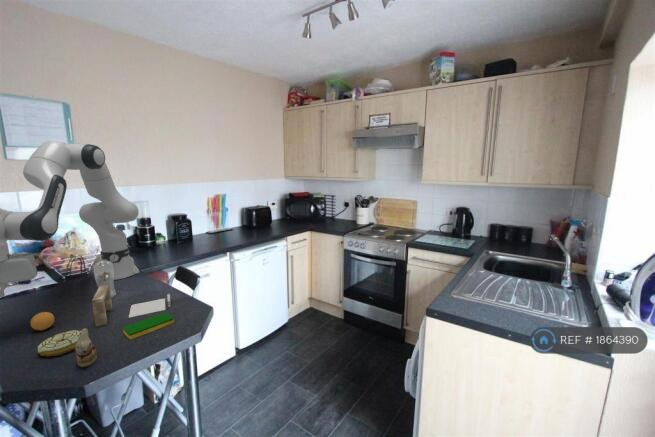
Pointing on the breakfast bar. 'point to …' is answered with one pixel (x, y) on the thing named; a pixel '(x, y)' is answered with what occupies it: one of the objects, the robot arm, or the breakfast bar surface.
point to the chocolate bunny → (85, 350)
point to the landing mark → (147, 307)
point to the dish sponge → (148, 325)
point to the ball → (42, 321)
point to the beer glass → (105, 275)
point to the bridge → (101, 305)
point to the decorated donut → (59, 343)
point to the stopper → (169, 300)
